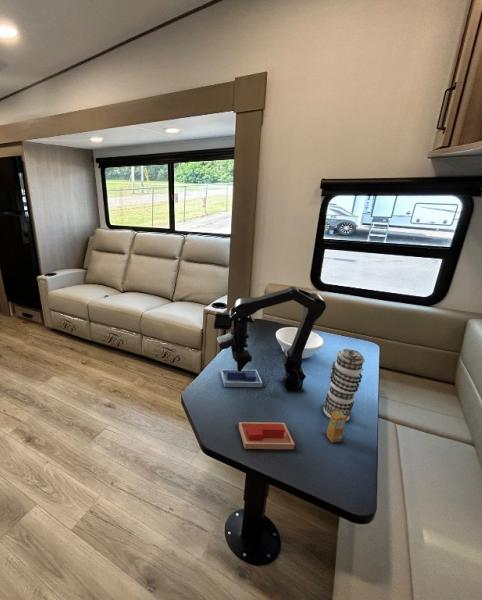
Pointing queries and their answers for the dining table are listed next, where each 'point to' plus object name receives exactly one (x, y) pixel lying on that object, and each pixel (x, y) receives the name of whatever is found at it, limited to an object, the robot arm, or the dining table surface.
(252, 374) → the dark blue block
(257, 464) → the dining table surface
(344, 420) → the supplement box
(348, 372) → the leaning tower model
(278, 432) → the red stepped block
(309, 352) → the bowl
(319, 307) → the robot arm
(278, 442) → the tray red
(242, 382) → the tray blue
